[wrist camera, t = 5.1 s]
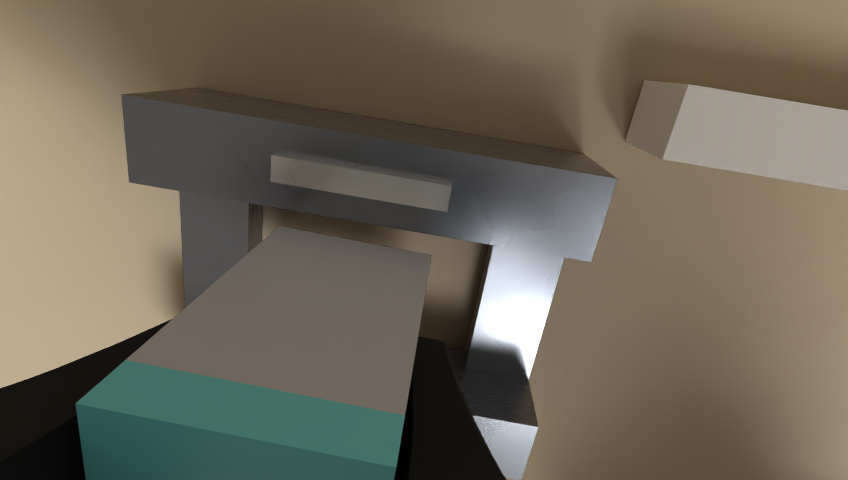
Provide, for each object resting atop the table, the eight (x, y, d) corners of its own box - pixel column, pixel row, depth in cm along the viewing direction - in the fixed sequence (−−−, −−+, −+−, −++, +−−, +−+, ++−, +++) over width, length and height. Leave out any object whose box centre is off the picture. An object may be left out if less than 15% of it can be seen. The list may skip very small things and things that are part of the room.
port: (583, 153, 13) (622, 182, 10) (511, 407, 16) (522, 489, 13) (195, 87, 13) (111, 95, 10) (203, 352, 16) (142, 420, 13)
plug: (431, 255, 11) (396, 468, 5) (407, 380, 12) (356, 659, 6) (279, 225, 11) (75, 403, 5) (271, 353, 12) (102, 606, 6)
